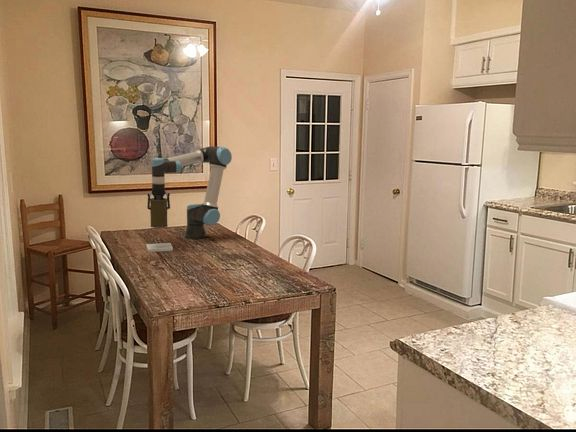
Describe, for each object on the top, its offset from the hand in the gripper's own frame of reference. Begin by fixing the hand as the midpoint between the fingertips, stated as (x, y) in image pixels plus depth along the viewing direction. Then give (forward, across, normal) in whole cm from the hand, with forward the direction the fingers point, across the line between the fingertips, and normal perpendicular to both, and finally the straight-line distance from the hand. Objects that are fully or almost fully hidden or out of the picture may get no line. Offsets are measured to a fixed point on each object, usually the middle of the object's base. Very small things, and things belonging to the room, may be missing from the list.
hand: (159, 220), depth 304 cm
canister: (+4, 0, 0) cm, 4 cm away
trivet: (+18, 0, 0) cm, 18 cm away
